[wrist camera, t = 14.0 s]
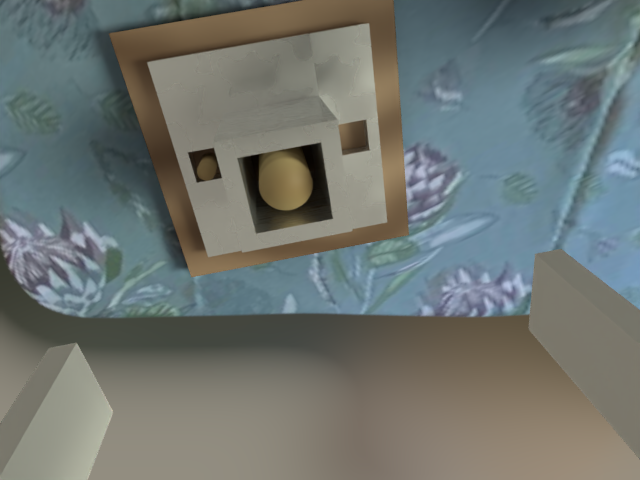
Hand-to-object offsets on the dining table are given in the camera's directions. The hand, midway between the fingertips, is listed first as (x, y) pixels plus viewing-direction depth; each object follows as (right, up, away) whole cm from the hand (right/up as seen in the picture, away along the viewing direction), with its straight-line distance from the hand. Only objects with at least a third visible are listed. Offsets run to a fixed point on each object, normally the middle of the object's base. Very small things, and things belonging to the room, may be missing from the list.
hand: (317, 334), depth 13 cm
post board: (-3, +10, +20) cm, 23 cm away
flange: (-3, +9, +19) cm, 21 cm away
